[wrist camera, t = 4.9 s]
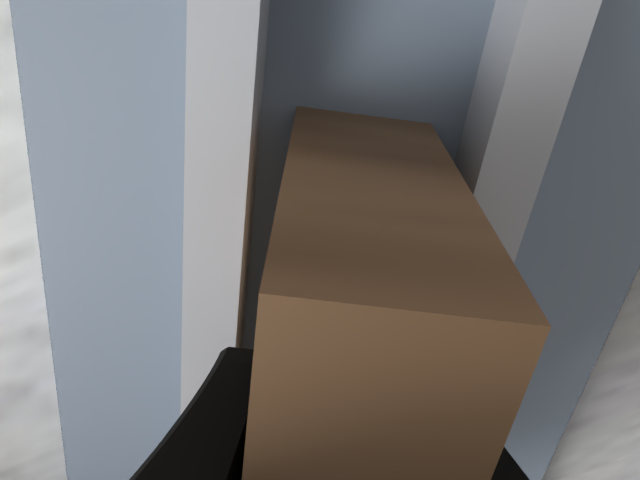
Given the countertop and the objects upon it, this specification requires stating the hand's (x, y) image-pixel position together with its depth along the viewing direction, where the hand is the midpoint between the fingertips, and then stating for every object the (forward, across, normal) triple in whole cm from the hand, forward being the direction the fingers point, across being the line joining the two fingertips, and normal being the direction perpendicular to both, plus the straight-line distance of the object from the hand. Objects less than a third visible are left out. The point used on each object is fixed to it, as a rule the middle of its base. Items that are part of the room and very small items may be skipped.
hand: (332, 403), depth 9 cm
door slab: (+3, 0, 0) cm, 3 cm away
